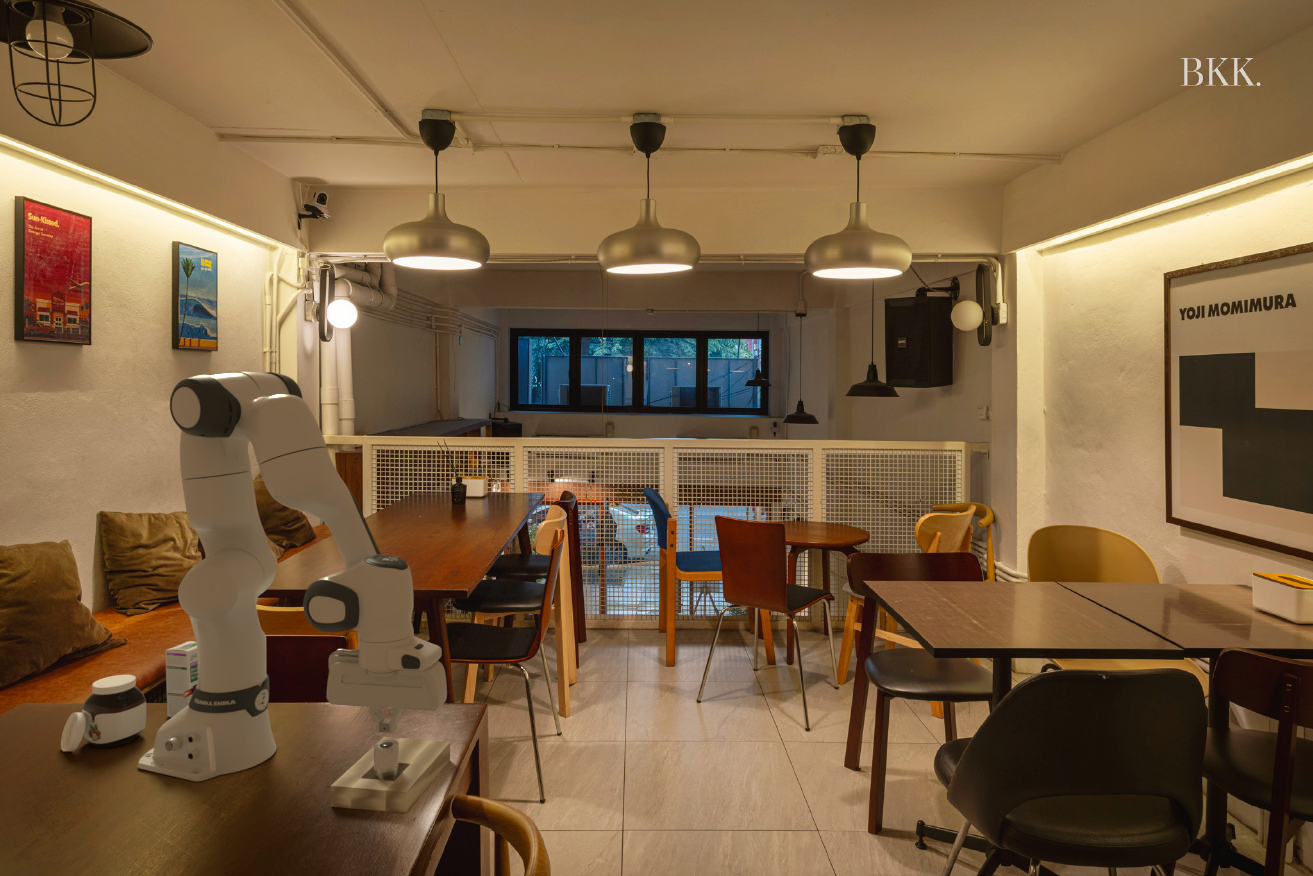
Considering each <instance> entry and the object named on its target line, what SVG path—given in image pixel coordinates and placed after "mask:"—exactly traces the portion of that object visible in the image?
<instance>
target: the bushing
mask: <svg viewBox="0 0 1313 876" xmlns="http://www.w3.org/2000/svg"><path fill="white" fill-rule="evenodd" d="M379 741H380V740H379ZM379 741H377V742H376V743H375V744H374V745H373V746H374V779H375V780H387V781H395V780H396V779H397V778H398V777H399V742H398V741H396V740H383V741H380V742H379Z"/></svg>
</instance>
